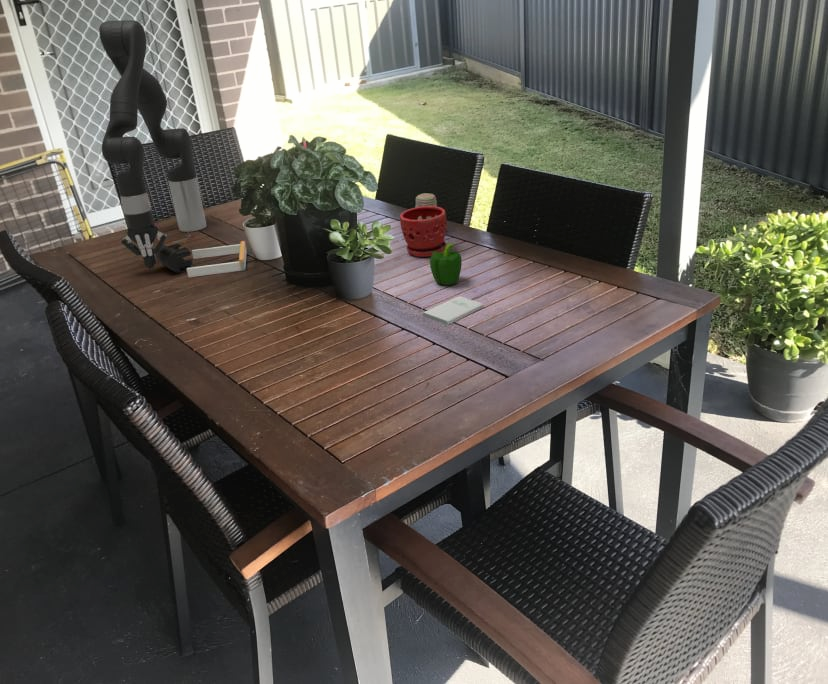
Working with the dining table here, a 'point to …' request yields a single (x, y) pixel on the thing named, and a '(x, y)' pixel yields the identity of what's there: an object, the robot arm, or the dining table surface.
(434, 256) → the bell pepper
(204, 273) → the frame
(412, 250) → the plant pot
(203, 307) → the dining table surface
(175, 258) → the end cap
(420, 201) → the carving
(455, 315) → the external hard drive
